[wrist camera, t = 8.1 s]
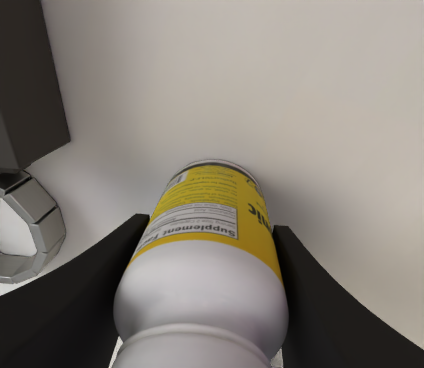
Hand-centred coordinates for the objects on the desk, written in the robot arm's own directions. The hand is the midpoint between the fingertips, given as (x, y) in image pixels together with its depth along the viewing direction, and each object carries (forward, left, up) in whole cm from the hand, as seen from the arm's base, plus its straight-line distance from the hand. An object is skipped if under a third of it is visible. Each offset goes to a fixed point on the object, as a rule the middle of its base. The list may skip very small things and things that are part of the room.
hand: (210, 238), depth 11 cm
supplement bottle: (0, 0, -3) cm, 3 cm away
